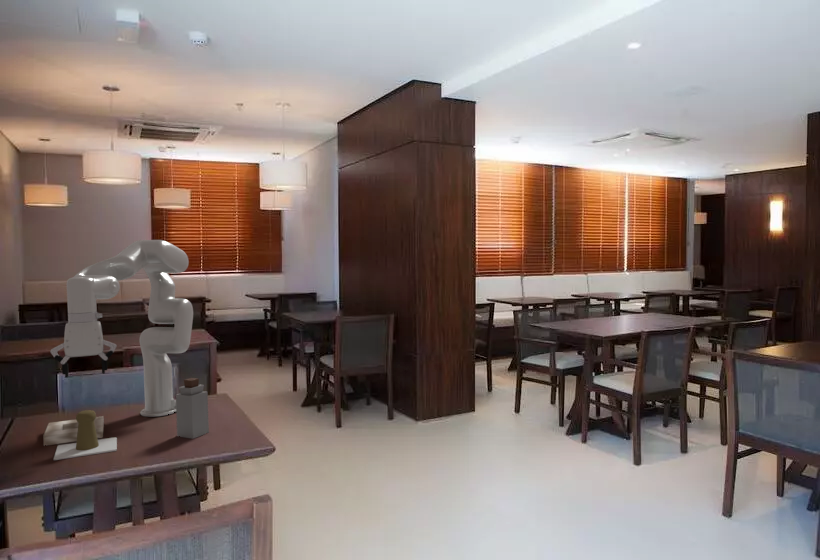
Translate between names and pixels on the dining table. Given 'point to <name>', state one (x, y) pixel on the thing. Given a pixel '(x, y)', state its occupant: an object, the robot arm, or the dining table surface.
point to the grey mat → (71, 451)
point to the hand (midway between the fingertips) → (85, 374)
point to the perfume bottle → (192, 409)
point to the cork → (86, 430)
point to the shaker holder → (68, 431)
